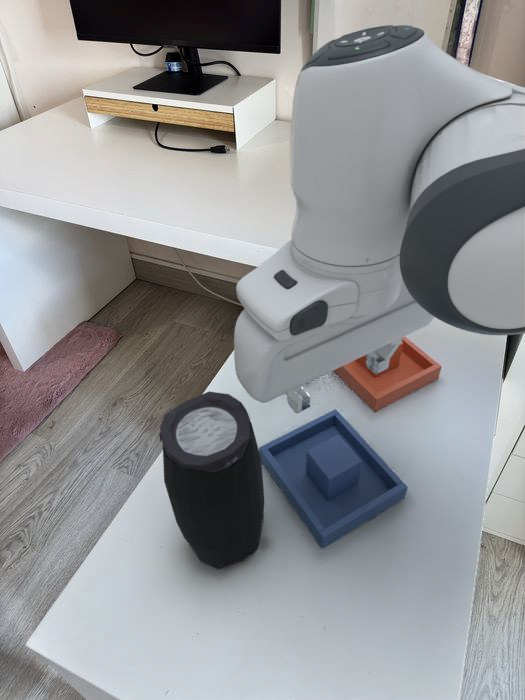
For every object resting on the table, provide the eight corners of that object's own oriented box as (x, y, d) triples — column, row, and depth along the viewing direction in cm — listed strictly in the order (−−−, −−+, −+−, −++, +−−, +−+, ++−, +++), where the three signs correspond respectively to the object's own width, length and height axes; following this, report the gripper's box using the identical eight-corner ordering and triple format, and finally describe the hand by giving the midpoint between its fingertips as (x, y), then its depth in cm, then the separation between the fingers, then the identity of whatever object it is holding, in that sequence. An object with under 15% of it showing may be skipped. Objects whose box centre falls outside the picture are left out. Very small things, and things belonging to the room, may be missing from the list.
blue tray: (404, 498, 58) (408, 486, 57) (322, 549, 54) (323, 538, 53) (334, 420, 67) (335, 408, 66) (259, 459, 63) (258, 447, 62)
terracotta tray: (438, 378, 72) (441, 366, 70) (374, 411, 68) (376, 399, 66) (376, 327, 81) (378, 314, 79) (316, 353, 77) (317, 341, 75)
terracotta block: (398, 366, 73) (403, 343, 70) (374, 377, 72) (378, 355, 69) (378, 348, 76) (382, 325, 73) (355, 359, 75) (357, 336, 72)
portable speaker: (171, 556, 54) (130, 447, 41) (215, 487, 61) (192, 373, 47) (240, 592, 51) (220, 486, 38) (279, 516, 57) (274, 401, 44)
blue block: (358, 483, 60) (362, 461, 56) (327, 501, 58) (329, 479, 55) (335, 456, 62) (337, 434, 59) (305, 473, 61) (306, 450, 58)
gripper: (417, 215, 46) (398, 331, 55) (216, 290, 39) (233, 408, 48) (471, 244, 42) (441, 364, 51) (257, 334, 35) (267, 454, 44)
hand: (338, 386), depth 49 cm, fingers open, 8 cm apart
